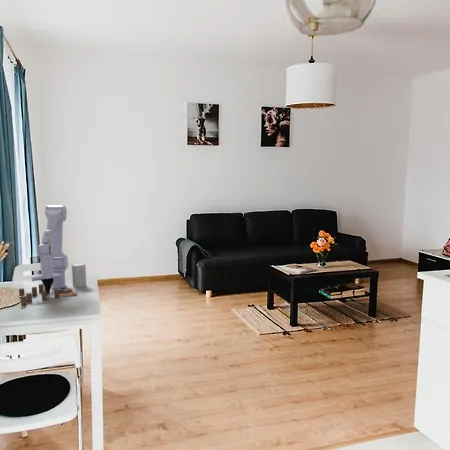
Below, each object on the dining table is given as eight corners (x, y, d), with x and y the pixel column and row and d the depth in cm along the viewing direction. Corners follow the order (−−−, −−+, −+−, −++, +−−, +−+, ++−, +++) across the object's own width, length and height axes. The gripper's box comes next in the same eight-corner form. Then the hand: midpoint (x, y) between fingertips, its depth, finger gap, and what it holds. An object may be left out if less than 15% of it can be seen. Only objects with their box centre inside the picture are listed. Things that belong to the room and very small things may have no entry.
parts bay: (54, 292, 247) (54, 290, 247) (71, 290, 251) (71, 287, 251) (59, 297, 238) (59, 295, 238) (76, 295, 242) (76, 292, 242)
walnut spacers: (15, 294, 242) (15, 287, 241) (53, 289, 251) (53, 282, 251) (21, 305, 224) (21, 297, 224) (61, 300, 234) (61, 292, 233)
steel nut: (56, 293, 245) (56, 287, 245) (67, 291, 248) (66, 286, 247) (59, 296, 240) (59, 290, 240) (69, 294, 243) (69, 289, 242)
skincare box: (82, 284, 262) (81, 263, 261) (86, 285, 259) (85, 264, 258) (72, 286, 258) (71, 264, 257) (76, 288, 255) (75, 266, 254)
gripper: (32, 270, 231) (34, 297, 233) (63, 267, 238) (64, 293, 240) (30, 267, 237) (31, 293, 239) (60, 264, 244) (61, 289, 246)
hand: (47, 293), depth 240 cm, fingers closed
